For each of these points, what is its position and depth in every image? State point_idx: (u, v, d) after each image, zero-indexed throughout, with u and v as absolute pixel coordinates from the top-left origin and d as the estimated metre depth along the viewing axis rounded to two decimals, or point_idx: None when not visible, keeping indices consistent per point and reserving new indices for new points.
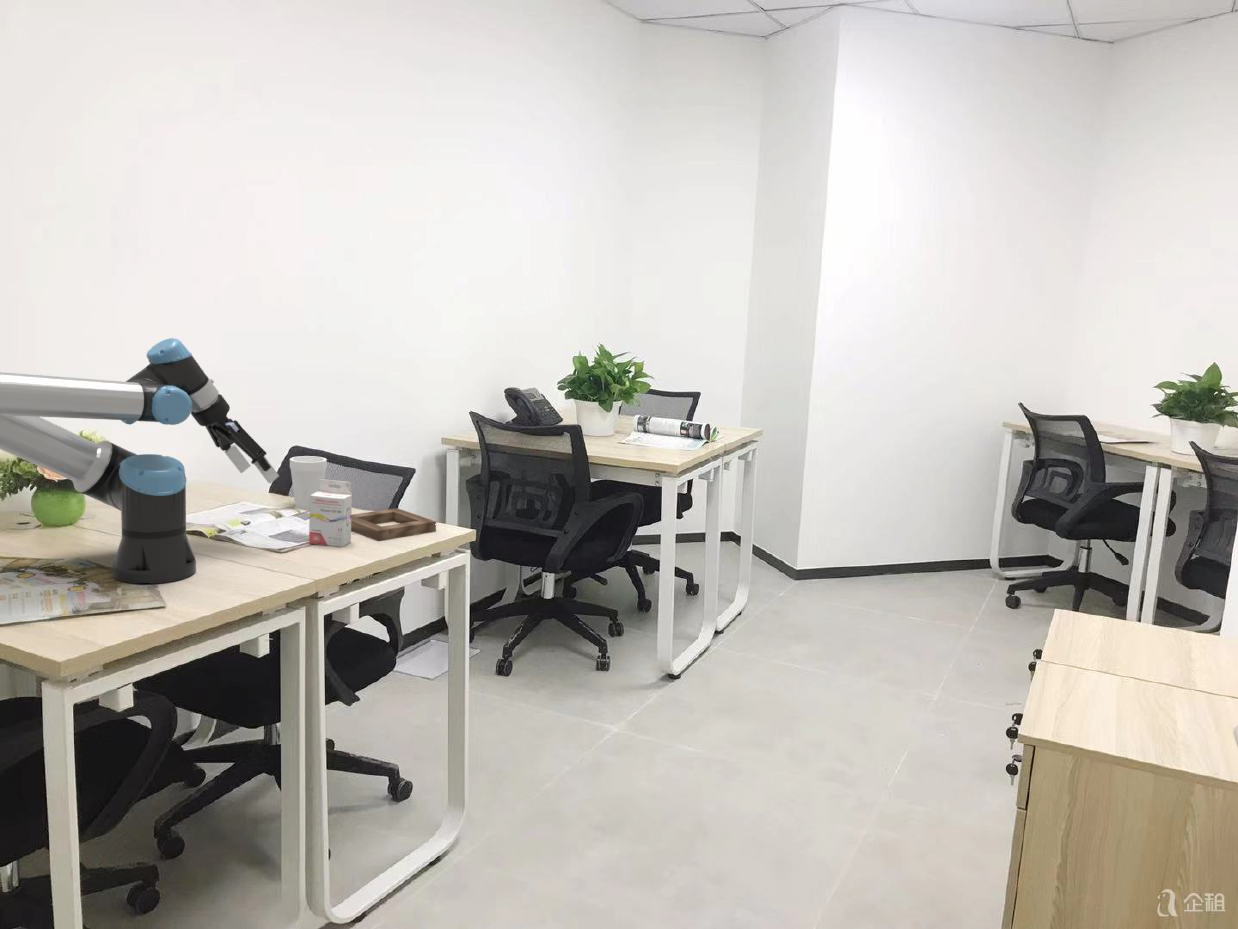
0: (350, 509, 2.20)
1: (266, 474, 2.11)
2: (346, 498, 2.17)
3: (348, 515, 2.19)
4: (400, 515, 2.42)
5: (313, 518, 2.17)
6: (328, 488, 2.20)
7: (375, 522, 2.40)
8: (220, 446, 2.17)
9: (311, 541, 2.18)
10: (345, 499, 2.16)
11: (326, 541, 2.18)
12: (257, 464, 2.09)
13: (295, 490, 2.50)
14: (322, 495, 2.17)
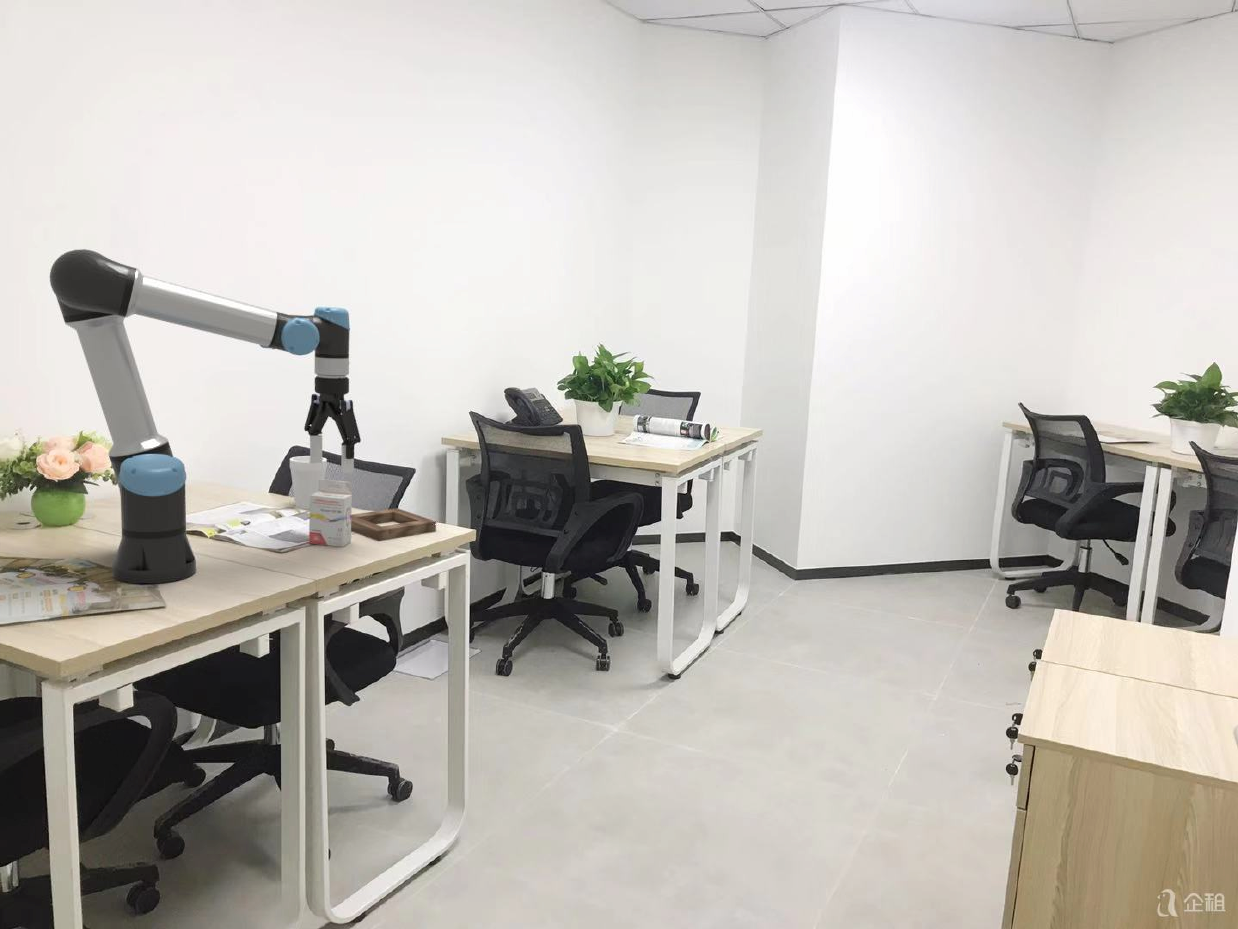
0: (350, 509, 2.20)
1: (346, 463, 2.11)
2: (346, 498, 2.17)
3: (348, 515, 2.19)
4: (400, 515, 2.42)
5: (313, 518, 2.17)
6: (328, 488, 2.20)
7: (375, 522, 2.40)
8: (310, 429, 2.20)
9: (311, 541, 2.18)
10: (345, 499, 2.16)
11: (326, 541, 2.18)
12: (344, 449, 2.11)
13: (295, 490, 2.50)
14: (322, 495, 2.17)
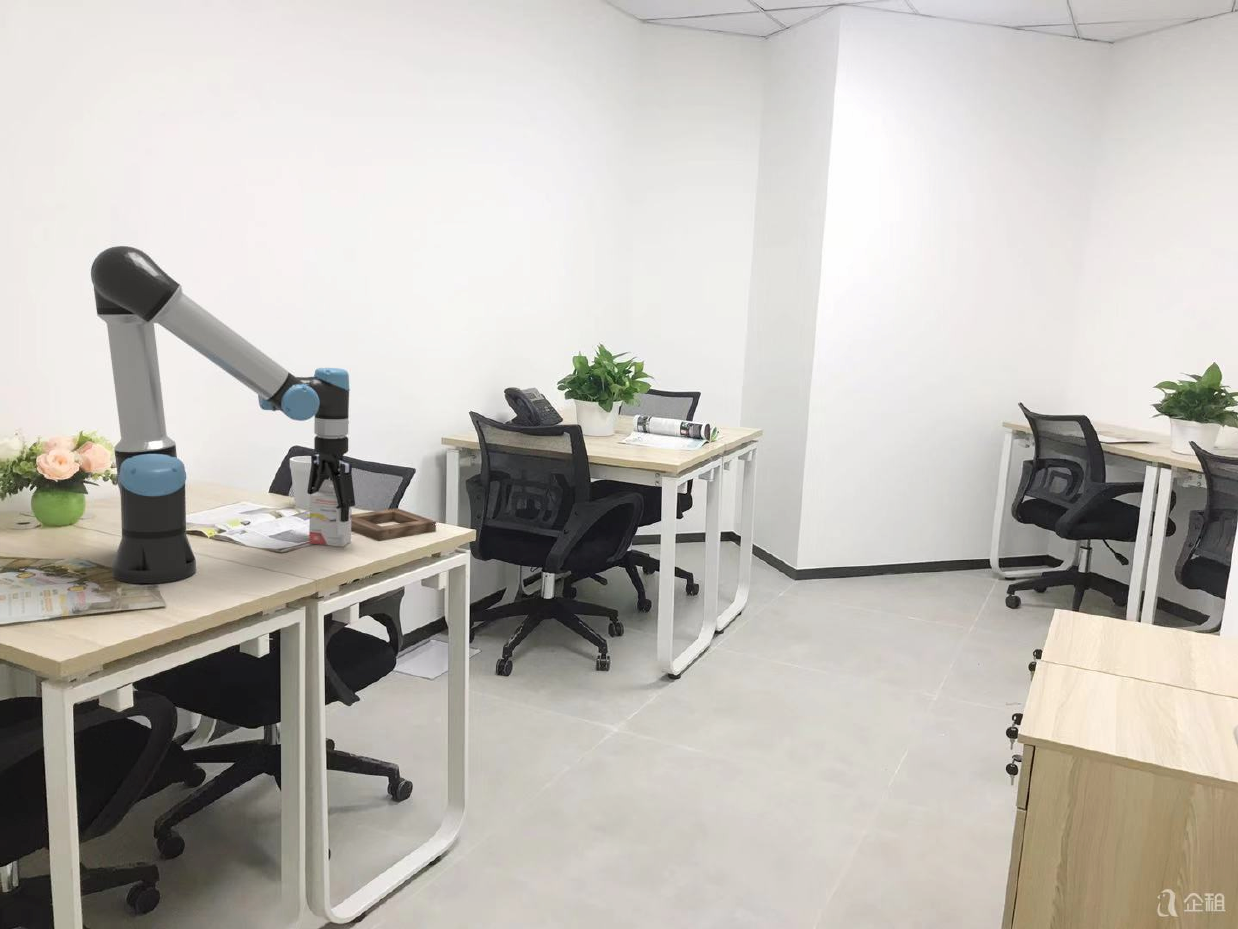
0: (350, 509, 2.20)
1: (340, 525, 2.15)
2: None
3: None
4: (400, 515, 2.42)
5: (313, 517, 2.17)
6: (328, 488, 2.20)
7: (375, 522, 2.40)
8: (312, 492, 2.21)
9: (311, 541, 2.18)
10: None
11: (326, 541, 2.18)
12: (339, 512, 2.14)
13: (295, 490, 2.50)
14: (322, 495, 2.17)
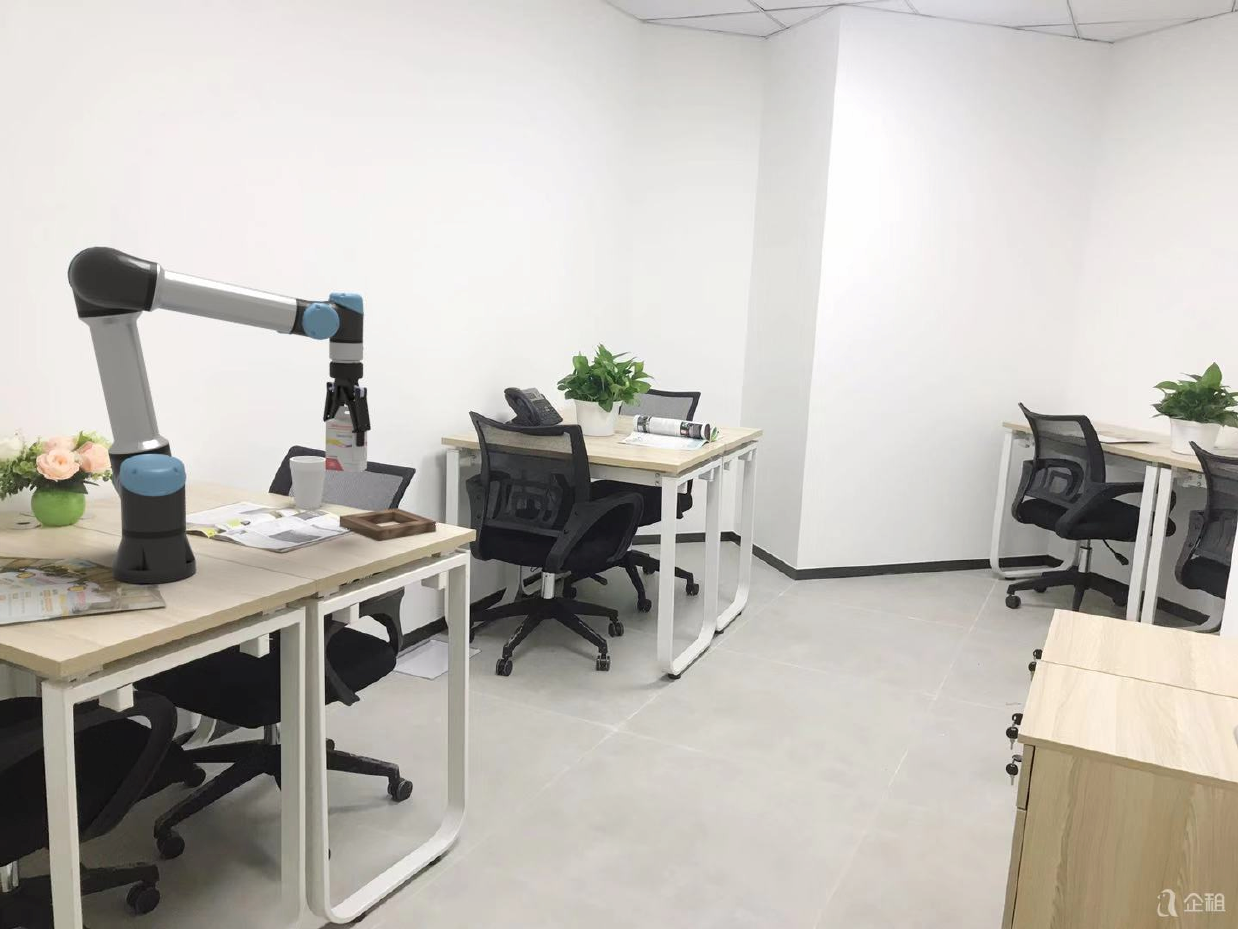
0: (366, 435, 2.20)
1: (356, 450, 2.16)
2: None
3: None
4: (400, 515, 2.42)
5: (329, 443, 2.18)
6: (343, 415, 2.21)
7: (375, 522, 2.40)
8: (328, 419, 2.22)
9: (327, 467, 2.19)
10: None
11: (342, 467, 2.18)
12: (355, 436, 2.15)
13: (295, 490, 2.50)
14: (338, 421, 2.17)
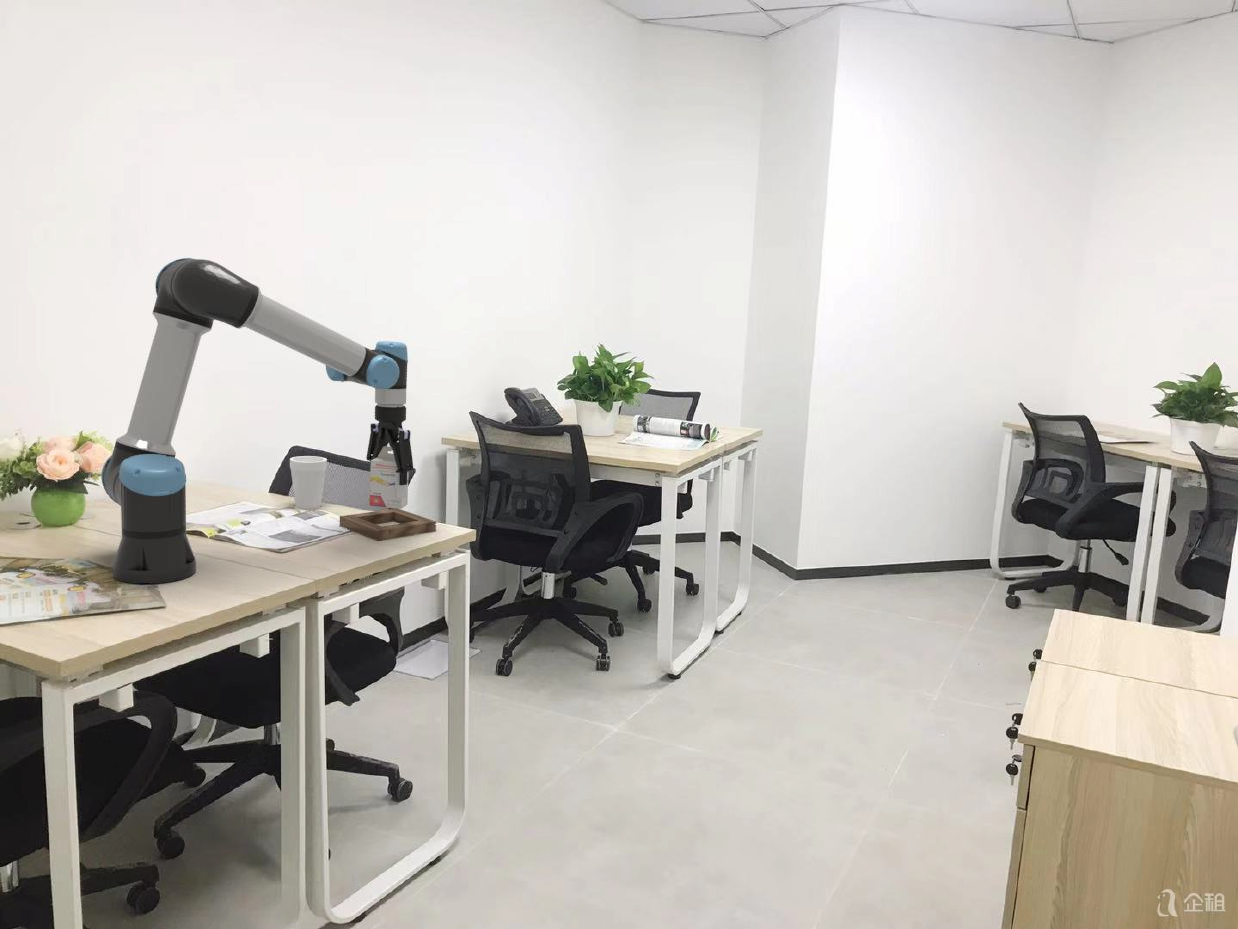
0: (407, 474, 2.35)
1: (399, 489, 2.30)
2: None
3: None
4: (400, 515, 2.42)
5: (373, 481, 2.32)
6: (386, 454, 2.35)
7: (375, 522, 2.40)
8: (371, 458, 2.36)
9: (371, 503, 2.33)
10: None
11: (386, 503, 2.33)
12: (398, 476, 2.29)
13: (295, 490, 2.50)
14: (382, 460, 2.32)
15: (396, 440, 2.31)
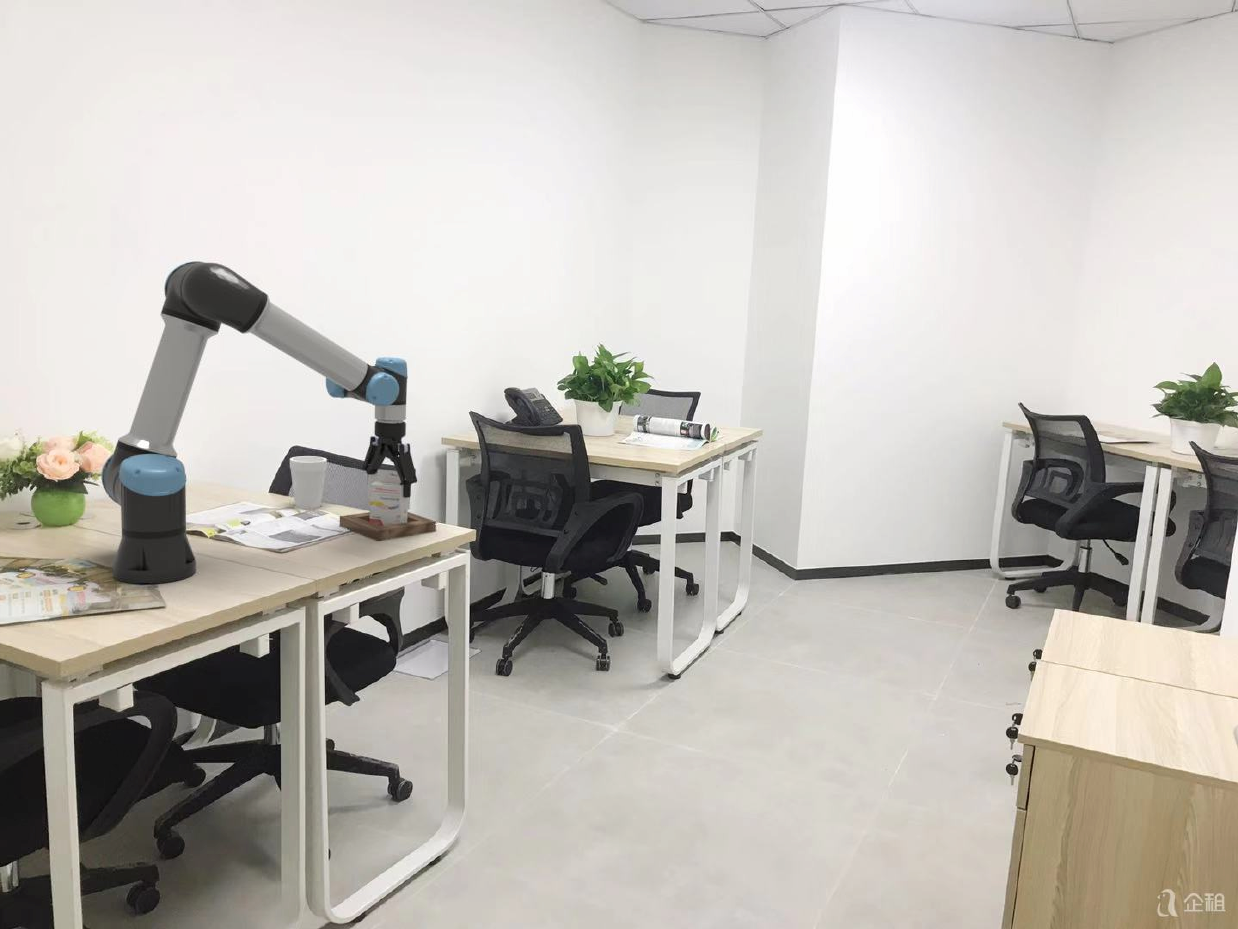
0: None
1: (403, 501, 2.30)
2: None
3: None
4: None
5: (373, 505, 2.33)
6: (386, 478, 2.36)
7: None
8: (368, 468, 2.38)
9: None
10: None
11: None
12: (402, 488, 2.29)
13: (295, 490, 2.50)
14: (382, 484, 2.33)
15: (397, 455, 2.31)
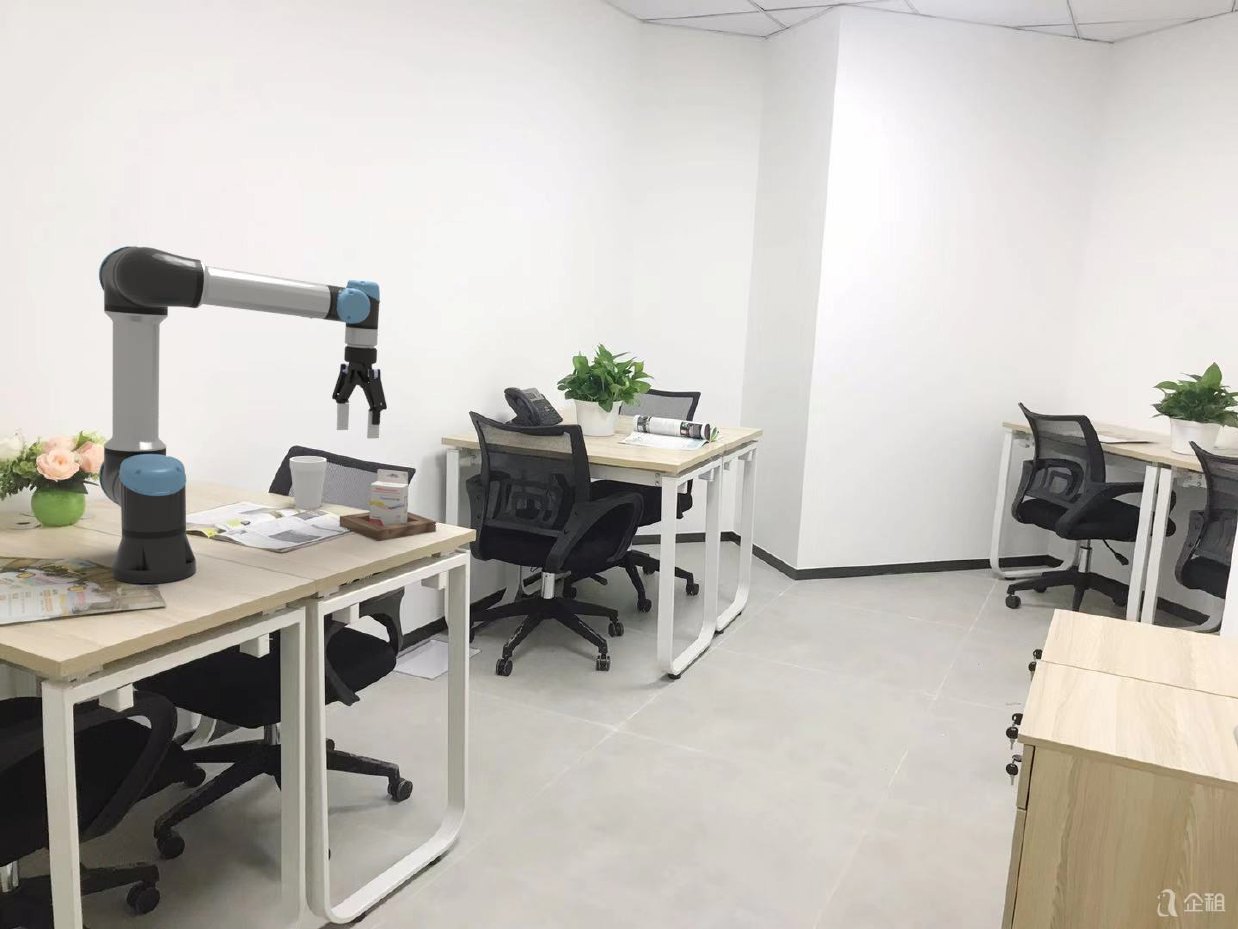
0: (407, 497, 2.36)
1: (371, 428, 2.22)
2: (404, 486, 2.33)
3: (405, 503, 2.35)
4: None
5: (373, 505, 2.33)
6: (386, 478, 2.36)
7: None
8: (337, 397, 2.30)
9: None
10: (403, 488, 2.32)
11: None
12: (371, 415, 2.21)
13: (295, 490, 2.50)
14: (382, 484, 2.33)
15: (367, 381, 2.24)
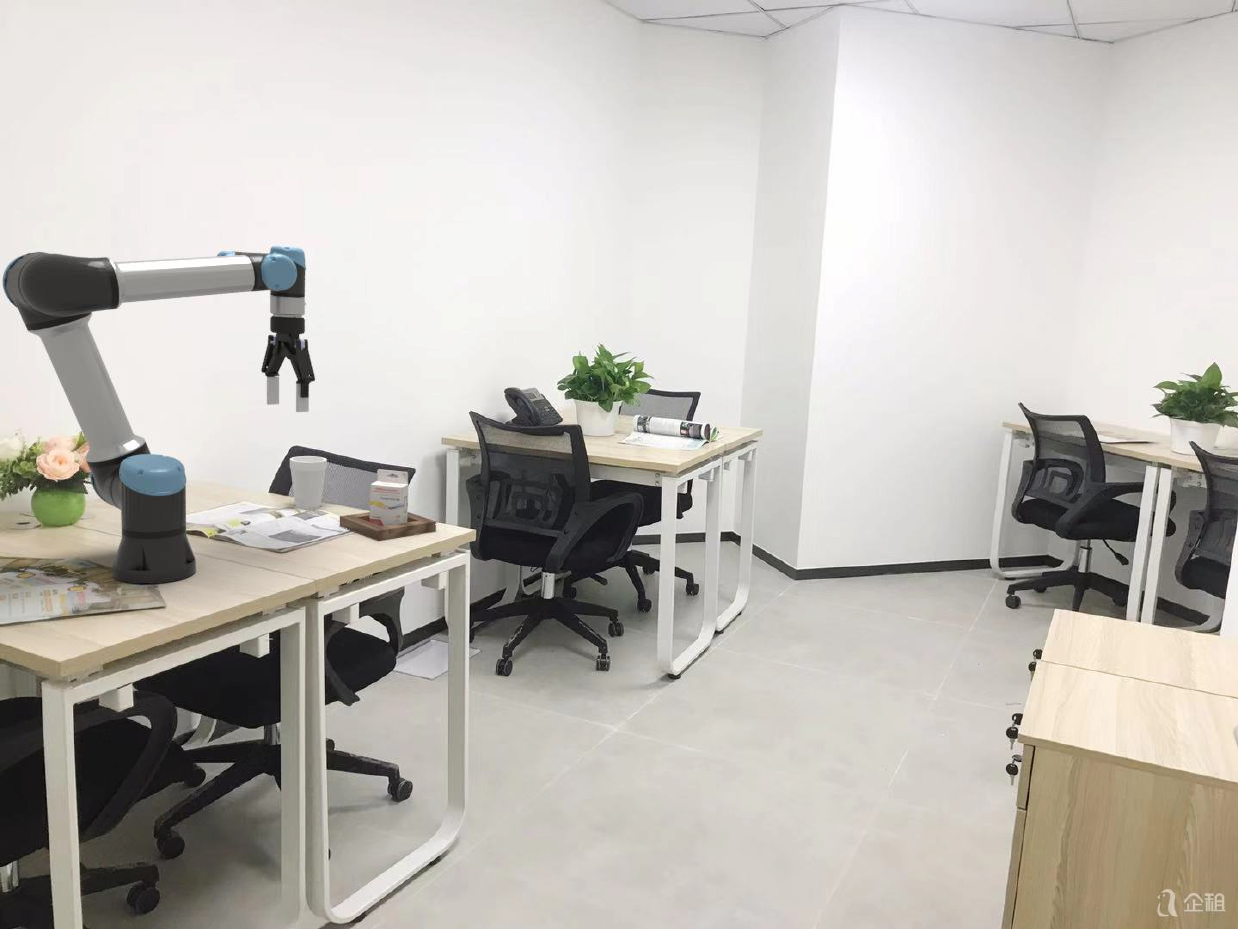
0: (407, 497, 2.36)
1: (300, 402, 2.13)
2: (404, 486, 2.33)
3: (405, 503, 2.35)
4: None
5: (373, 505, 2.33)
6: (386, 478, 2.36)
7: None
8: (266, 370, 2.21)
9: None
10: (403, 488, 2.32)
11: None
12: (299, 387, 2.12)
13: (295, 490, 2.50)
14: (382, 484, 2.33)
15: (294, 353, 2.14)
